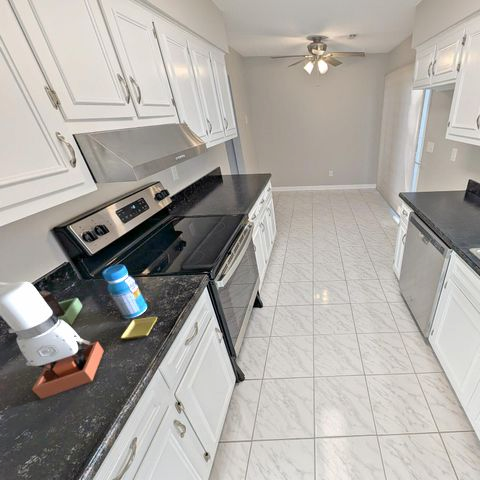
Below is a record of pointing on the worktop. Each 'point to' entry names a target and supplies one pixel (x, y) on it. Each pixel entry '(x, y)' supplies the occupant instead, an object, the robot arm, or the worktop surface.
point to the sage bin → (70, 310)
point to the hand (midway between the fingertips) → (72, 369)
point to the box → (52, 303)
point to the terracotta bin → (53, 384)
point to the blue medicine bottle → (124, 291)
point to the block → (65, 367)
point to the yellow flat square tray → (139, 328)
